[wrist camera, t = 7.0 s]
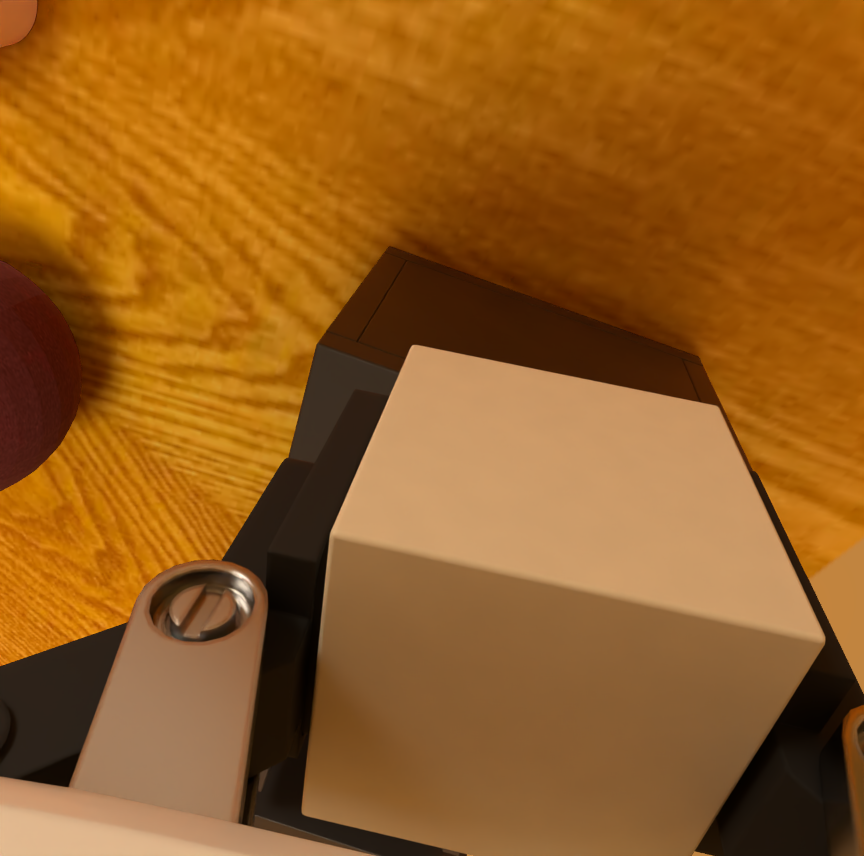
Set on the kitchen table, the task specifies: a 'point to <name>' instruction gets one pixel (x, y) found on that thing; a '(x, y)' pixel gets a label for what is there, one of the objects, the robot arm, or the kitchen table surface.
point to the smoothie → (16, 20)
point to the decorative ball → (33, 376)
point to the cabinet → (473, 343)
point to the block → (548, 619)
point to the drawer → (285, 816)
